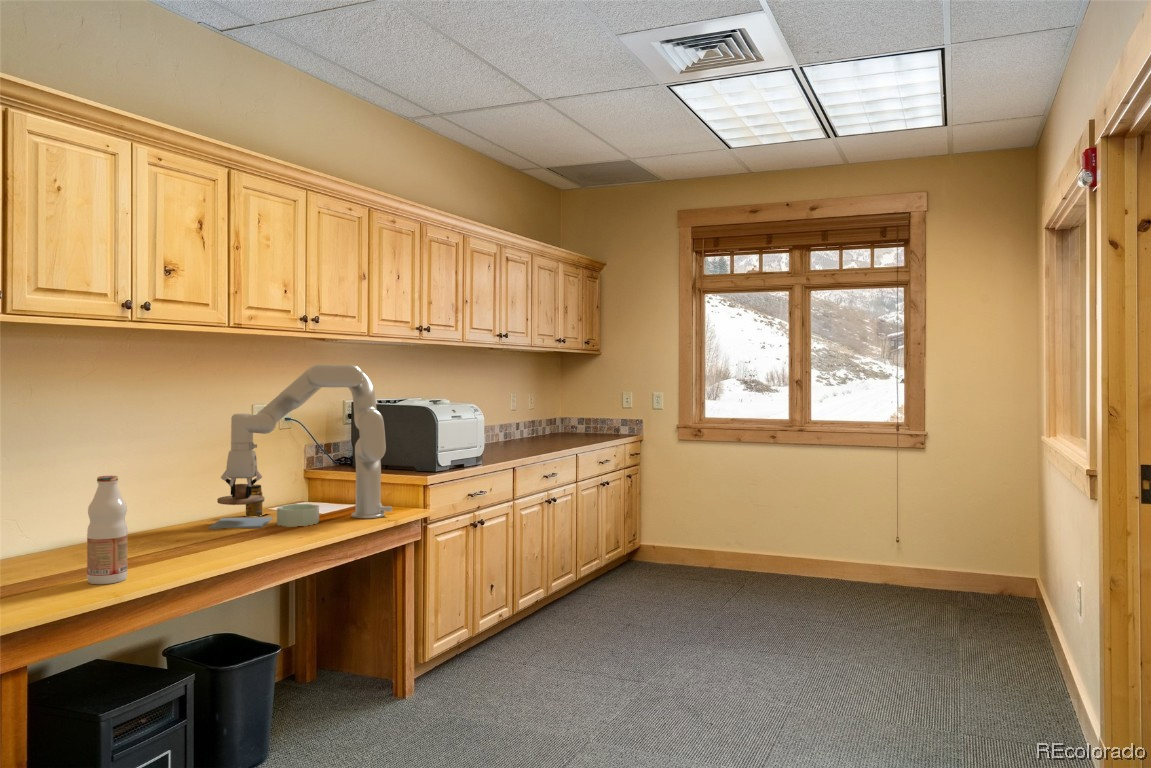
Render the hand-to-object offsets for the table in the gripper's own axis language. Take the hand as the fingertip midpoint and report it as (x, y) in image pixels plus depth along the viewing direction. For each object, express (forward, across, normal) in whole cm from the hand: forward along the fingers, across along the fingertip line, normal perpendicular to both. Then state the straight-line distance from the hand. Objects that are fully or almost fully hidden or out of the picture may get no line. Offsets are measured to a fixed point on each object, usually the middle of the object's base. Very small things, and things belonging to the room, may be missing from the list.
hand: (241, 496), depth 305 cm
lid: (+2, 0, 0) cm, 2 cm away
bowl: (+10, -20, 0) cm, 23 cm away
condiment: (+10, -1, -18) cm, 21 cm away
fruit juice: (+11, +15, +81) cm, 83 cm away
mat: (+10, 0, 0) cm, 10 cm away
